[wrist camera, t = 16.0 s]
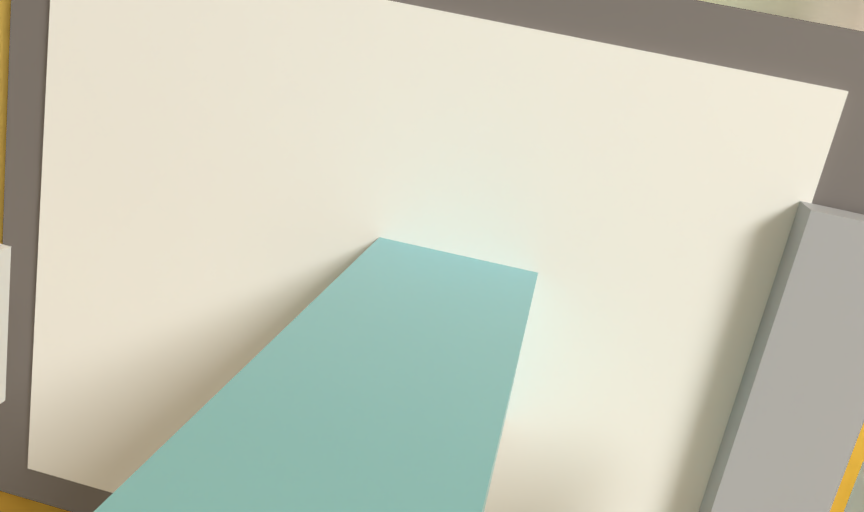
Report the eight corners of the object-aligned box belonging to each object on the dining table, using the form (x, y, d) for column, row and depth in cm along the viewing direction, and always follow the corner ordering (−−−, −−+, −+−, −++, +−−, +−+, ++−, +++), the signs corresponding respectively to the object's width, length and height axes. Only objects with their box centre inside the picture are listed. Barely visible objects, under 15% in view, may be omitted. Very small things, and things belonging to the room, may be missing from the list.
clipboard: (10, 476, 21) (-36, 511, 19) (35, -123, 17) (-21, -139, 15) (737, 688, 18) (750, 747, 17) (972, 54, 14) (1017, 57, 13)
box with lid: (350, 384, 17) (-240, 1243, 5) (375, 231, 16) (-283, 835, 4) (509, 424, 17) (280, 1467, 5) (543, 268, 16) (375, 1071, 4)
